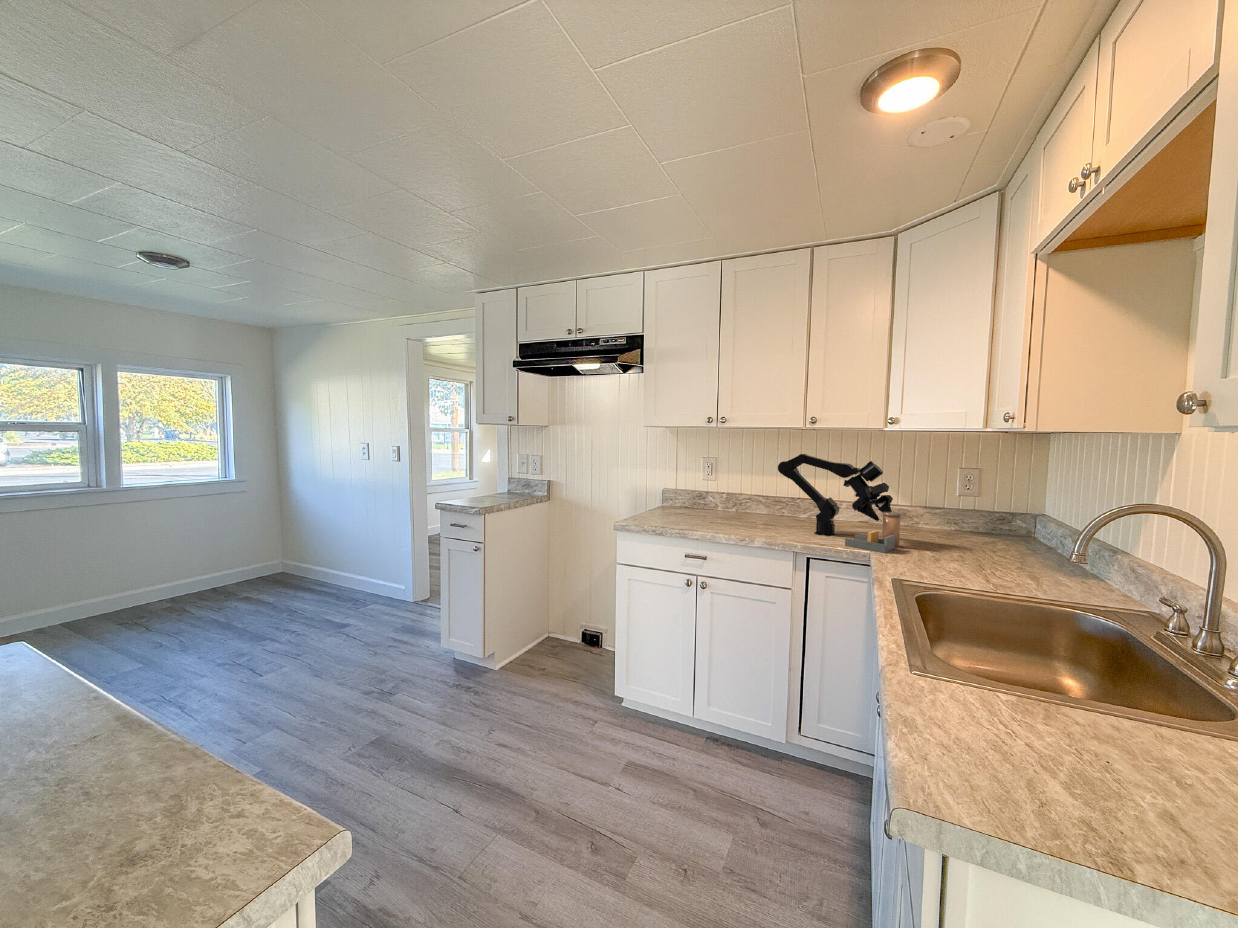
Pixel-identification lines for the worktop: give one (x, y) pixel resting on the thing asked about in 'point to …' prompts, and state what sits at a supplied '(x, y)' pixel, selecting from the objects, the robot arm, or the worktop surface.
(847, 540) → the tray
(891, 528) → the terracotta jar
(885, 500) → the robot arm
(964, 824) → the worktop surface
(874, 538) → the block
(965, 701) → the worktop surface
